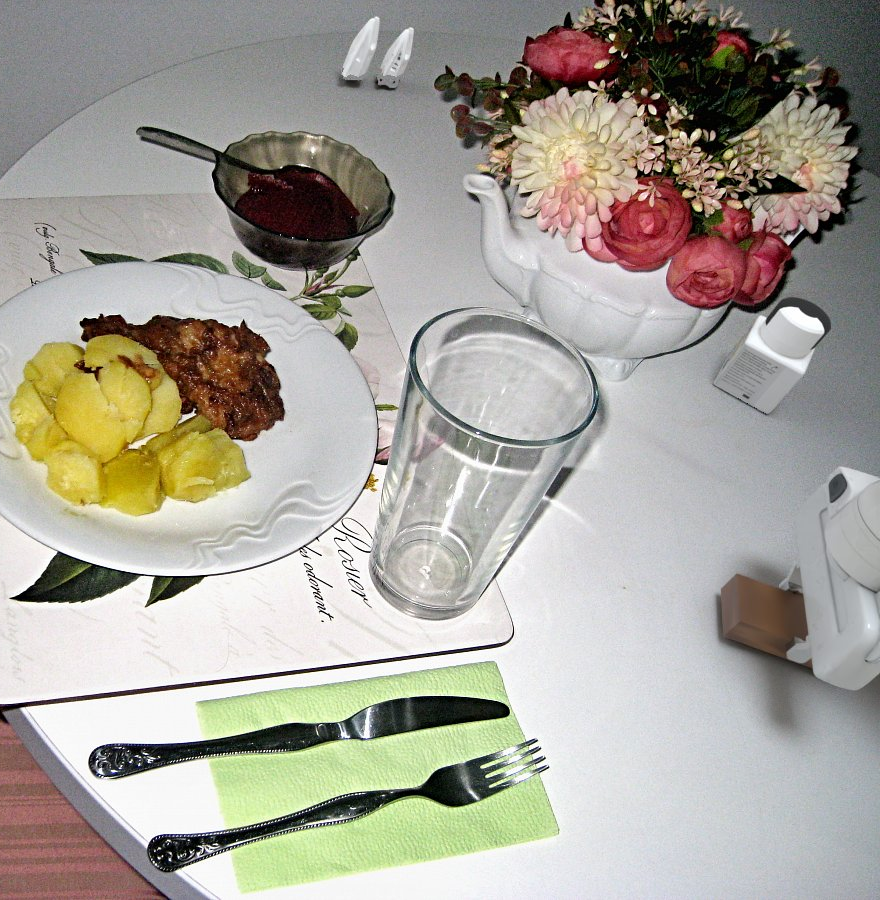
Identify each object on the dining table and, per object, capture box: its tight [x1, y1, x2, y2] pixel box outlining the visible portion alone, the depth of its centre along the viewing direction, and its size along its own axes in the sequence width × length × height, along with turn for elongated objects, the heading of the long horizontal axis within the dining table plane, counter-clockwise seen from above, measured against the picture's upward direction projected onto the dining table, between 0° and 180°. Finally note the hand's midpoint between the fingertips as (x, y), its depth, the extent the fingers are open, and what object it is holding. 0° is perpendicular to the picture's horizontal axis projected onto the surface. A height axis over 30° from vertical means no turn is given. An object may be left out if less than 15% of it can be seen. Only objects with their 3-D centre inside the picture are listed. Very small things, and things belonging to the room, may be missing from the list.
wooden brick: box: [720, 572, 813, 670], centre depth 89 cm, size 12×6×3 cm, turn 73°
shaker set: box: [340, 16, 415, 77], centre depth 148 cm, size 12×4×11 cm, turn 106°
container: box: [713, 296, 832, 415], centre depth 113 cm, size 8×8×13 cm
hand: (789, 623), depth 89 cm, fingers closed on wooden brick, 6 cm apart
